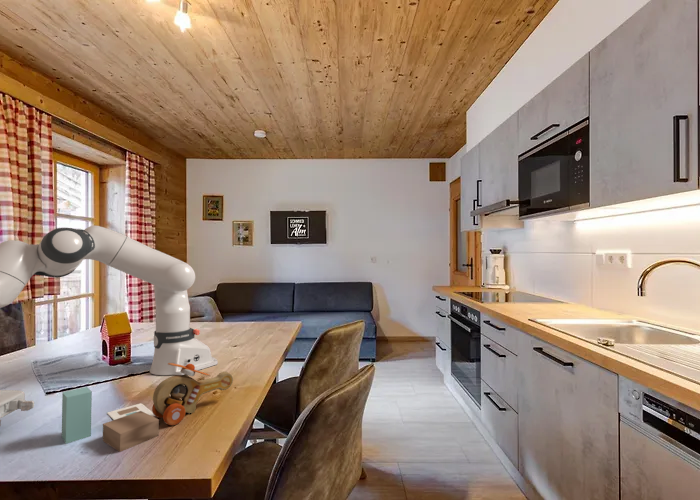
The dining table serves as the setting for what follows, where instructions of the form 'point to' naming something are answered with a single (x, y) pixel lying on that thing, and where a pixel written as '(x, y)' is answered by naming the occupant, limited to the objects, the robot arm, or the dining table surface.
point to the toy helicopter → (184, 393)
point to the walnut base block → (130, 430)
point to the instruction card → (129, 411)
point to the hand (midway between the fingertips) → (16, 414)
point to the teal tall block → (76, 414)
